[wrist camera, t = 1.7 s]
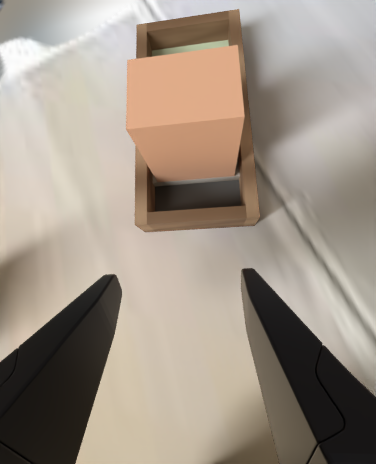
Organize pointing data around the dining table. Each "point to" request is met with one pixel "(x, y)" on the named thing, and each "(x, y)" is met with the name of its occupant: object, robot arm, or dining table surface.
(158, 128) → the block
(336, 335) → the dining table surface
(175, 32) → the box
